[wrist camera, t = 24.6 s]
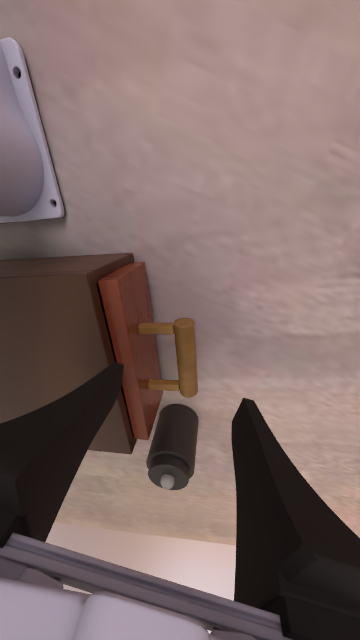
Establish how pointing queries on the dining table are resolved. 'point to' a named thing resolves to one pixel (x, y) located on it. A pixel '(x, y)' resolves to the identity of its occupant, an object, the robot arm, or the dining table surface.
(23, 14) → the dining table surface
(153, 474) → the pepper mill
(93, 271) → the cabinet
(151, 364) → the drawer
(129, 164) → the dining table surface
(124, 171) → the dining table surface
